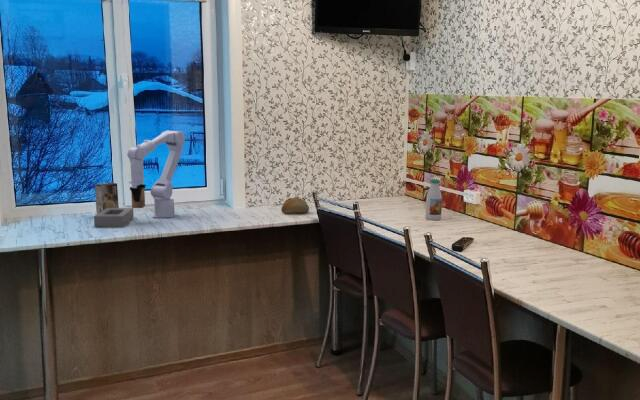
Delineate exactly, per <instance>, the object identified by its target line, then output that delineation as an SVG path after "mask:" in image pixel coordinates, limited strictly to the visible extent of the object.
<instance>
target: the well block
mask: <svg viewBox="0 0 640 400" xmlns="http://www.w3.org/2000/svg"><path fill="white" fill-rule="evenodd" d="M134 215H135V214H134V208H132V207H119V208H106V209H104V210H103V211H101V212H100V213H98V214H97V213H96V214H95V215H93V223H94V226H93V227H94V228H114V227H115V228H124V227H125V226H126V225H127V224H128V223H129V222H130V221H132V220H133V219H134V218H135V217H134Z"/></svg>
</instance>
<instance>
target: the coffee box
mask: <svg viewBox="0 0 640 400" xmlns="http://www.w3.org/2000/svg"><path fill="white" fill-rule="evenodd" d="M118 190H119V189H118V182H117V183H115V182H104V183H97V184H96V183H95V184H94V196H95V208H96V209H95V210H96V215H97V214H98V213H100V212H101V211H103V210H104V209H106V208H120V207H119V193H118V192H119V191H118Z"/></svg>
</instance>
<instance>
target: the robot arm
mask: <svg viewBox="0 0 640 400" xmlns="http://www.w3.org/2000/svg"><path fill="white" fill-rule="evenodd" d="M185 141H186V138H185V134H184V132H183V131H181V130H168V129H167V130H165V131H162V132H161V133H160V135H157V136H155V138H153V139H152V140H150V139H144V140H143V142H142V143H140V144H137V145H136V146H135V147H134V146H133V147H130V148H129V149H128V151H127V153H126V155H127V158H128V159H129V162H130V181H129V182H128V184H131V186H130V187H129V191H130V192H132V194H133V197H134V201H135V202H139V201H140V194H141V190H142V188H144V190H145V189H146V185H147V184H145V177H144V176H145V175H144V174H145V173H144V159H146V158H145V157H146V156H147V155H149V154H151V153H152V152H154V151H155V149H156V147H158V146H159V145H161V144H164V143H165V145H166V146H167V148H168V149H169V154H168V156H167V160H166V161H165V163H164V164H165V165H164V167H163V170H162V172H161V175H160V177H159V179H157V180H156V181H154V184H153V185H152V186H151V188H150V195H151V196H152V197H153V198H152V199H154V201H153V202H154V215H152V218H157V219H158V218H159V219H160V218H173V217H174V216H175V213H176V212H175V200H174V199H173V198H171V197H172V195H173V189H174V186H173V184H172V182H171V181H172V179H173V177H174V174H175V171H176V169H177V165H178V163H179V161H180V158H181V155H182V152H183V146H184V143H185Z"/></svg>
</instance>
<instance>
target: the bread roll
mask: <svg viewBox="0 0 640 400" xmlns="http://www.w3.org/2000/svg"><path fill="white" fill-rule="evenodd" d="M280 211H281V213H283V214H307V213H308V212H309V211H310V207H309V205H308V203H307V202H306V200H304V199H303V198H300V197H290V198H287V199H286V200H285V201H284V202H283V204H282V206H281V209H280Z"/></svg>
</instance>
